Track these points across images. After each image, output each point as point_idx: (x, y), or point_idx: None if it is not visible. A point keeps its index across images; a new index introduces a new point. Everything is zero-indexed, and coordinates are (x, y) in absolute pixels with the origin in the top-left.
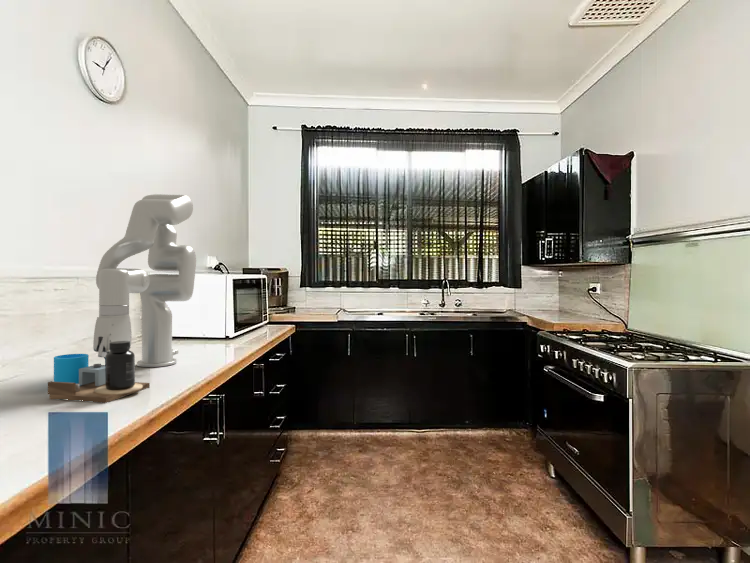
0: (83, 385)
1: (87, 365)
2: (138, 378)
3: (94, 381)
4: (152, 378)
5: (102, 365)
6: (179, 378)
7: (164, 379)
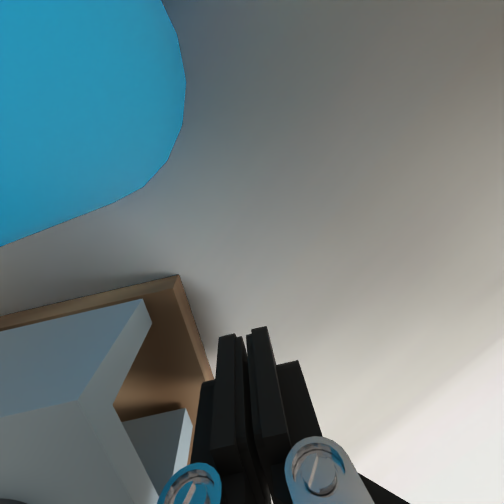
0: None
1: (53, 216)
2: (412, 341)
3: (127, 300)
4: (433, 404)
5: (97, 490)
6: (463, 498)
7: (426, 465)
